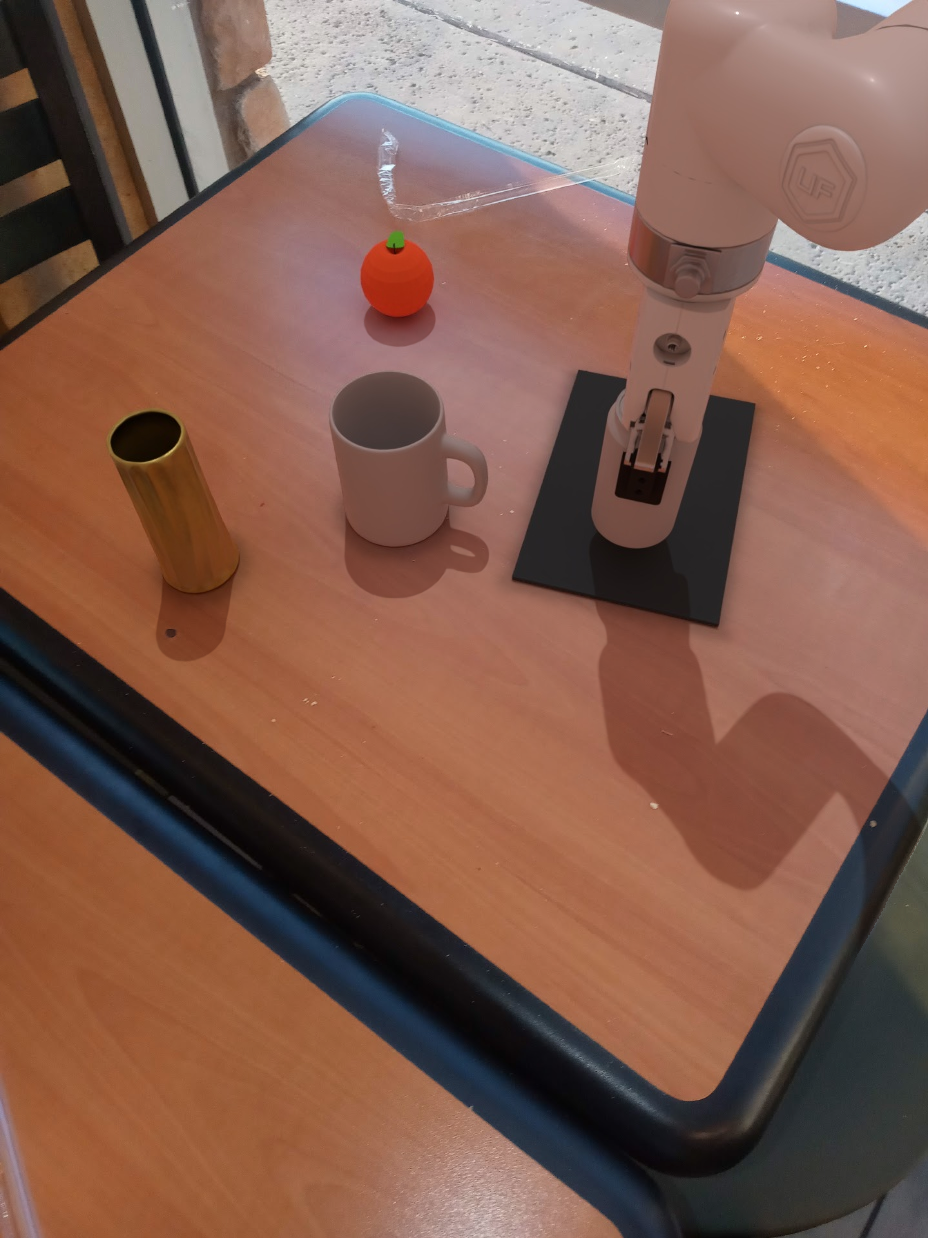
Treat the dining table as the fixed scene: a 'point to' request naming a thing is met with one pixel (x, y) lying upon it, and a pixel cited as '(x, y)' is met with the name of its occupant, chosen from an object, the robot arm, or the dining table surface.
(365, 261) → the clementine
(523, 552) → the mat
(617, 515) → the beverage can
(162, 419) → the vase
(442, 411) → the mug
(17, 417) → the dining table surface
